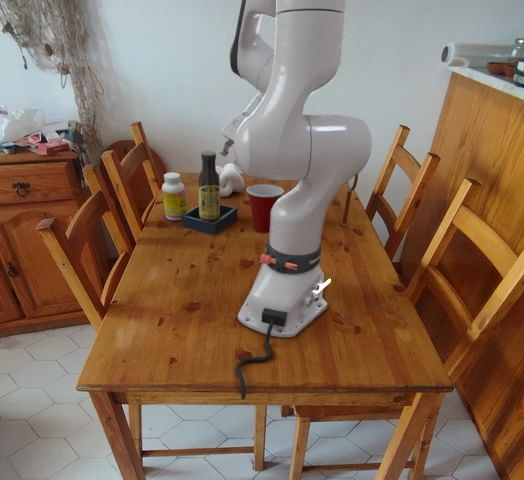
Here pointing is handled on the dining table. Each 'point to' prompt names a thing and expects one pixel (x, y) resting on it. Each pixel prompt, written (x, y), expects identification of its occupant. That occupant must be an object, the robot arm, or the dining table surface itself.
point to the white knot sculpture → (229, 180)
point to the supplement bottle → (174, 196)
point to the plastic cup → (263, 204)
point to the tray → (194, 222)
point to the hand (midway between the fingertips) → (229, 159)
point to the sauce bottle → (209, 189)
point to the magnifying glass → (349, 196)
